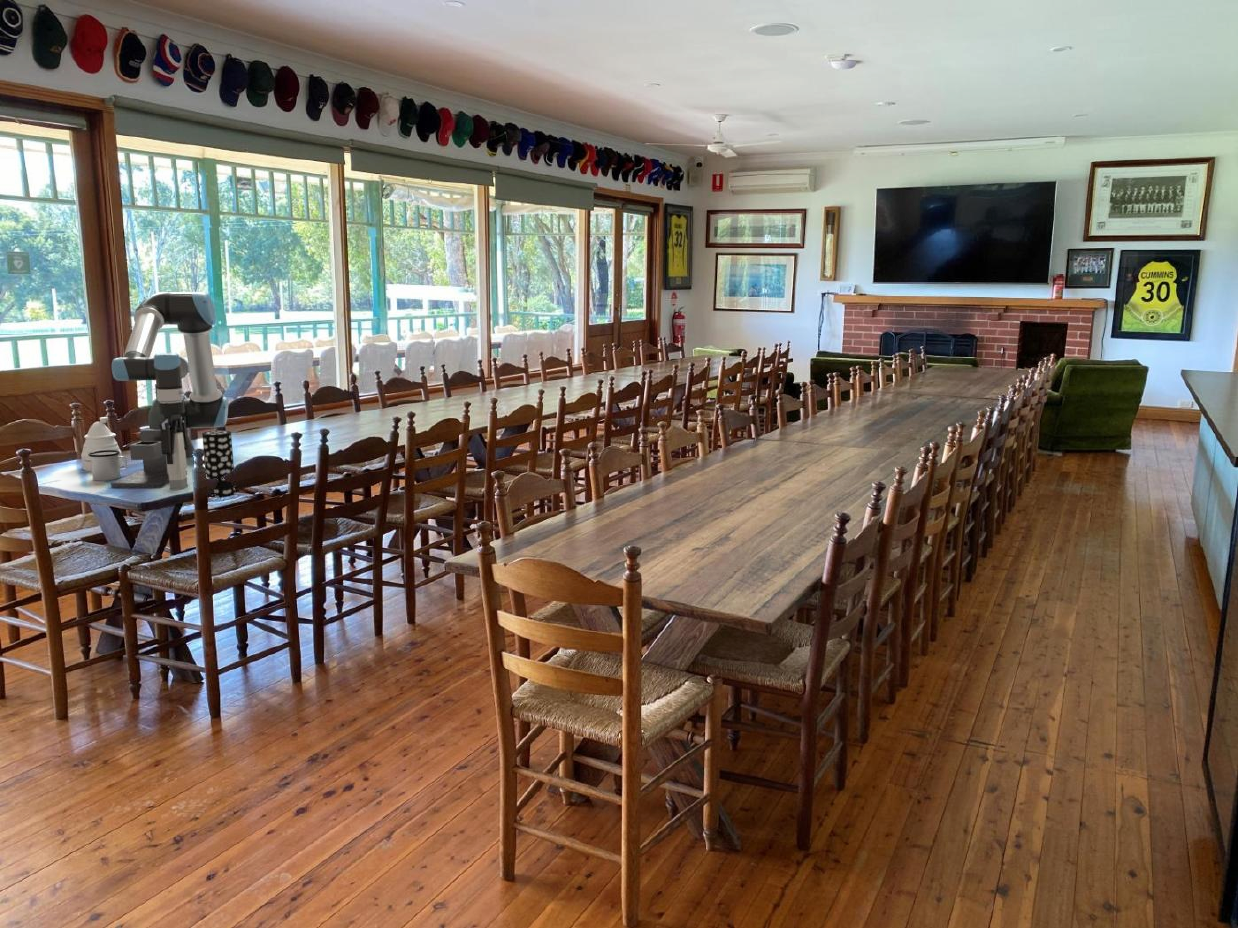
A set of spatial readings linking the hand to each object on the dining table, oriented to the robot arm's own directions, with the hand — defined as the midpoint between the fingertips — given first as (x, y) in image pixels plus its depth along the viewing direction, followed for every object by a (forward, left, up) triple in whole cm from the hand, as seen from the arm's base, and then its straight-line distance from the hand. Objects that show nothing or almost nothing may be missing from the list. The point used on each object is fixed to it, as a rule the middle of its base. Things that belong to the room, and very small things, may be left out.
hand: (177, 471), depth 301 cm
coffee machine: (-10, -14, -5) cm, 18 cm away
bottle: (-35, -20, -6) cm, 41 cm away
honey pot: (-33, -42, -6) cm, 54 cm away
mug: (-15, -30, -6) cm, 34 cm away
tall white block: (0, 0, -5) cm, 5 cm away
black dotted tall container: (+10, +18, -6) cm, 21 cm away
